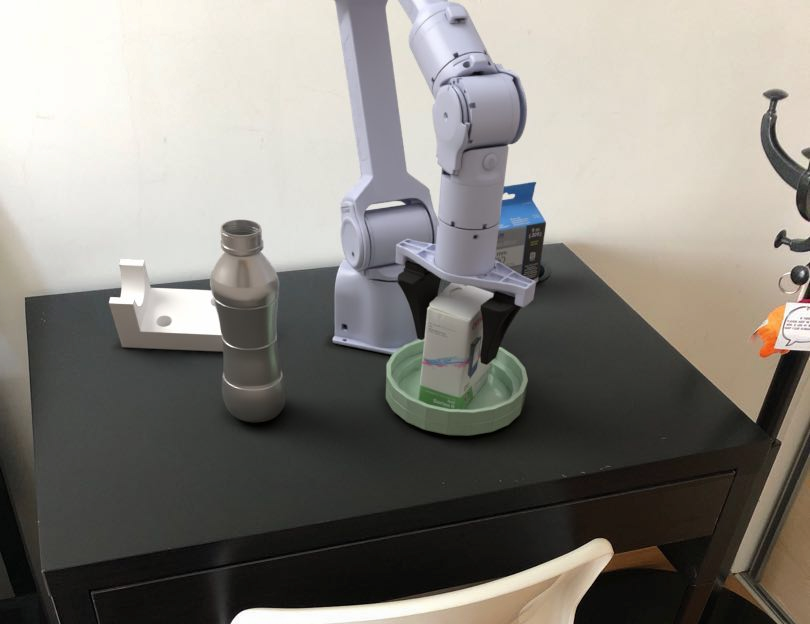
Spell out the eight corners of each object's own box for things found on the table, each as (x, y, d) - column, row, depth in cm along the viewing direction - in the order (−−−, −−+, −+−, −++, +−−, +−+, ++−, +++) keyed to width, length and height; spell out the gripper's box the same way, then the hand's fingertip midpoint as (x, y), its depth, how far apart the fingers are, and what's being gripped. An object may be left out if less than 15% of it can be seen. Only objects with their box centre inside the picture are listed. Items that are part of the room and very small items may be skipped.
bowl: (366, 422, 94) (367, 394, 92) (408, 352, 105) (409, 325, 103) (506, 453, 92) (510, 424, 89) (534, 378, 102) (539, 351, 100)
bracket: (123, 353, 104) (108, 303, 97) (134, 309, 108) (120, 258, 101) (237, 357, 104) (229, 308, 98) (243, 314, 108) (237, 264, 102)
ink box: (448, 369, 102) (457, 271, 94) (490, 382, 100) (503, 283, 92) (415, 406, 96) (422, 305, 88) (460, 420, 94) (471, 318, 86)
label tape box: (481, 296, 116) (492, 201, 108) (465, 282, 119) (475, 189, 111) (538, 284, 120) (553, 191, 111) (521, 271, 122) (535, 180, 114)
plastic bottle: (261, 438, 91) (247, 250, 78) (210, 415, 94) (188, 229, 80) (300, 409, 96) (293, 225, 82) (250, 388, 98) (235, 206, 85)
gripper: (558, 224, 83) (537, 354, 92) (426, 184, 88) (418, 310, 97) (522, 250, 78) (503, 384, 87) (385, 206, 84) (380, 336, 93)
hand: (456, 347), depth 92 cm, fingers open, 7 cm apart
